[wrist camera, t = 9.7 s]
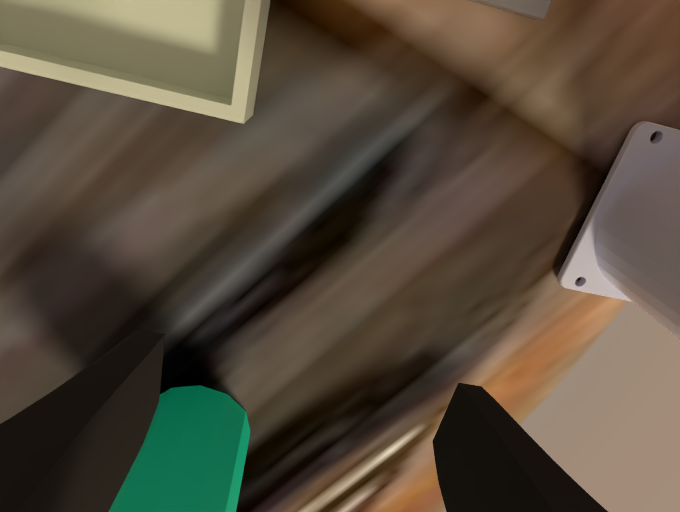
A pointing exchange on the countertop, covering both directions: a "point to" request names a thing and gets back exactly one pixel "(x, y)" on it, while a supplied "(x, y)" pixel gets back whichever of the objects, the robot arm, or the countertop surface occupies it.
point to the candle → (189, 455)
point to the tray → (144, 49)
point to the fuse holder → (521, 7)
